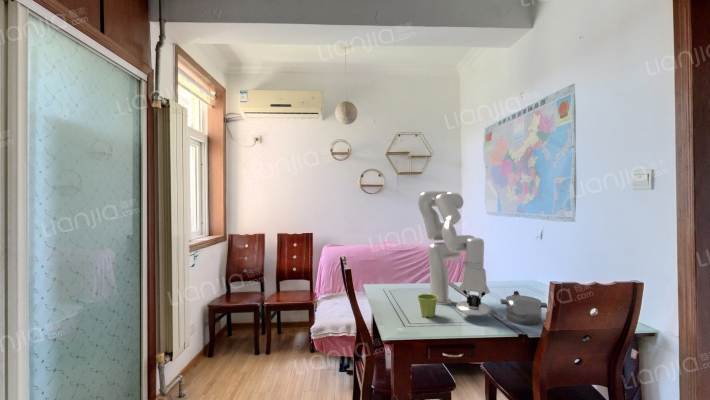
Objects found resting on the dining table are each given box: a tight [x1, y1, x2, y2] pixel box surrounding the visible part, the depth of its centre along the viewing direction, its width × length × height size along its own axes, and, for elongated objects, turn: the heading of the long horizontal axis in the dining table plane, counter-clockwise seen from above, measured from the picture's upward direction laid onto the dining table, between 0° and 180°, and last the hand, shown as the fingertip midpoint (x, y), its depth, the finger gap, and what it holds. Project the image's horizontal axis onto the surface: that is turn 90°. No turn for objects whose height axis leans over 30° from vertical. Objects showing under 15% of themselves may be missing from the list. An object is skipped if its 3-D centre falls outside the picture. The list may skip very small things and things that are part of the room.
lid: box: [456, 294, 492, 317], centre depth 150 cm, size 15×15×6 cm
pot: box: [500, 294, 548, 327], centre depth 146 cm, size 18×14×9 cm
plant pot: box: [417, 293, 438, 318], centre depth 154 cm, size 9×9×9 cm
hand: (473, 305), depth 150 cm, fingers closed on lid, 3 cm apart
